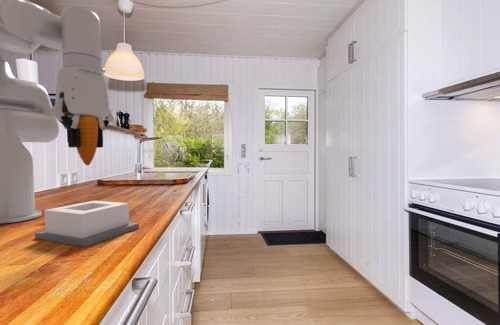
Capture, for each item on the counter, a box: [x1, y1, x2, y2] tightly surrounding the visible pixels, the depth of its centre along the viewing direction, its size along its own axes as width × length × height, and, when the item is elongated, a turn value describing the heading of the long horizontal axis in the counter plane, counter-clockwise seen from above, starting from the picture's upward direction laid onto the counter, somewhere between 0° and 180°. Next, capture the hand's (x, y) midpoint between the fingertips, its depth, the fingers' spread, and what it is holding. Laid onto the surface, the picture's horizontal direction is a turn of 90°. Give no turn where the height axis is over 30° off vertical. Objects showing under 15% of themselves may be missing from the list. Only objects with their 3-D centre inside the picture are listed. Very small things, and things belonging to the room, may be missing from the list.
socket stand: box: [34, 200, 140, 248], centre depth 63 cm, size 16×14×6 cm
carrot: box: [76, 115, 98, 166], centre depth 62 cm, size 5×5×15 cm
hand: (86, 146), depth 62 cm, fingers closed on carrot, 4 cm apart
